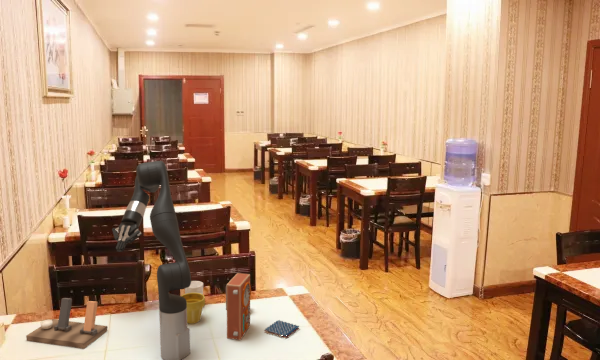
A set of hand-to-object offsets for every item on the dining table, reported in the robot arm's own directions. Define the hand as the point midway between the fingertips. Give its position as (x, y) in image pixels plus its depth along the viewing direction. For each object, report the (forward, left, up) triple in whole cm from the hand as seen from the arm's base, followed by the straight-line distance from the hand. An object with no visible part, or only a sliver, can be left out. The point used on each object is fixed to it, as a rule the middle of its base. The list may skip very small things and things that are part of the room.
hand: (119, 250), depth 198 cm
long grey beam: (+6, +22, -25) cm, 34 cm away
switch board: (+5, +22, -28) cm, 36 cm away
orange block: (-4, +20, -25) cm, 32 cm away
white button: (+13, +24, -25) cm, 38 cm away
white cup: (-19, -22, -28) cm, 41 cm away
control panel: (-49, -12, -28) cm, 58 cm away
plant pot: (-27, -11, -28) cm, 41 cm away
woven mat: (-63, -21, -29) cm, 73 cm away
